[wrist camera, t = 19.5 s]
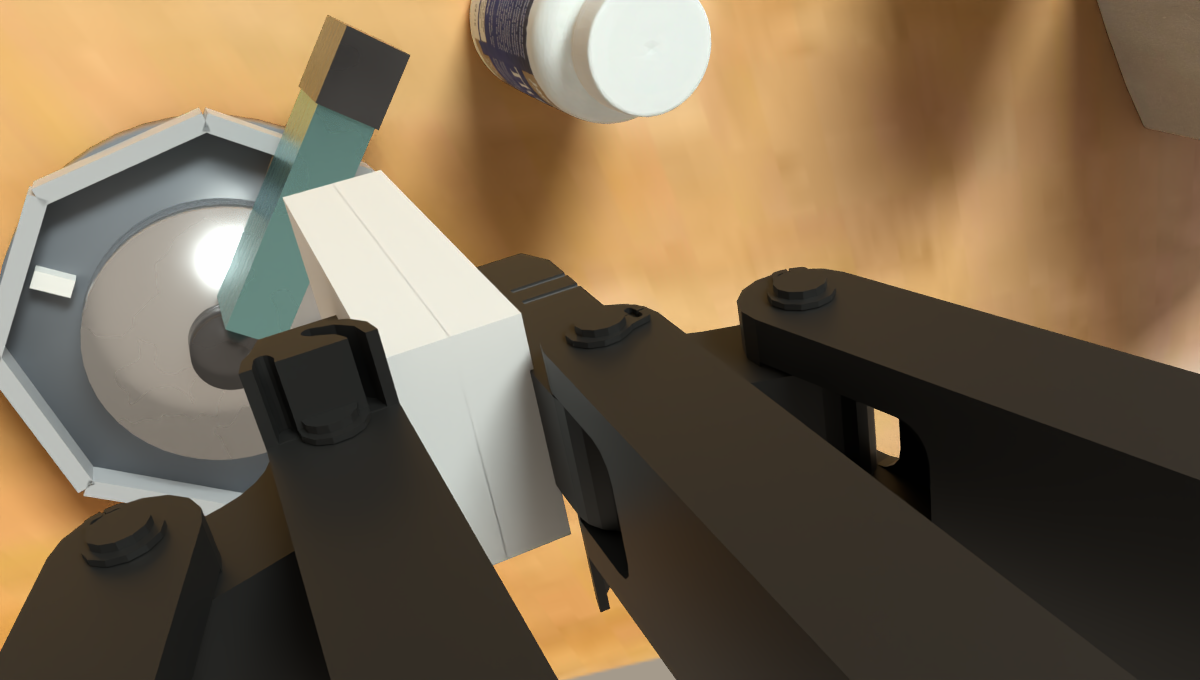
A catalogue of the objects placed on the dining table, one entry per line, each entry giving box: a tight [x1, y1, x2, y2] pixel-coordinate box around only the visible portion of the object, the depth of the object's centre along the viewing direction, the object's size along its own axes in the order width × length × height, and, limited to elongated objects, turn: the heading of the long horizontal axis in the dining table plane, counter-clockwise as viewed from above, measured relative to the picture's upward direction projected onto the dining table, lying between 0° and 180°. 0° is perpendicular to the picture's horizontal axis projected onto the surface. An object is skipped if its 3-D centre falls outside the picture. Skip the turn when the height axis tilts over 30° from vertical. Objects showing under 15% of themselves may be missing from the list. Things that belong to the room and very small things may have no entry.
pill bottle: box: [470, 0, 711, 124], centre depth 35 cm, size 5×5×10 cm
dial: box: [80, 15, 410, 460], centre depth 34 cm, size 16×9×5 cm, turn 154°
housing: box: [0, 107, 375, 516], centre depth 37 cm, size 14×14×2 cm
